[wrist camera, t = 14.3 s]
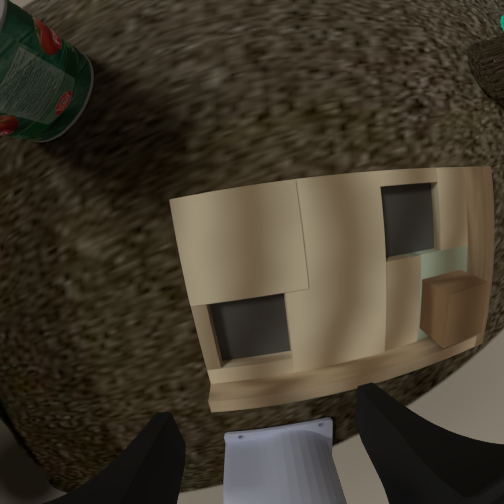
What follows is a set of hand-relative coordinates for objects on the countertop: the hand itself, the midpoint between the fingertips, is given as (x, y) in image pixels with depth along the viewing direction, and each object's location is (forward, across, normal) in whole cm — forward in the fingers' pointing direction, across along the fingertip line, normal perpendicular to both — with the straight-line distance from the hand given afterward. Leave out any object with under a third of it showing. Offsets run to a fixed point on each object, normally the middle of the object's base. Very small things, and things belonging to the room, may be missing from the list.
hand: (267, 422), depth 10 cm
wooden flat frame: (+10, -6, -2) cm, 12 cm away
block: (+9, -14, +1) cm, 17 cm away
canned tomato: (+11, +13, -19) cm, 25 cm away
